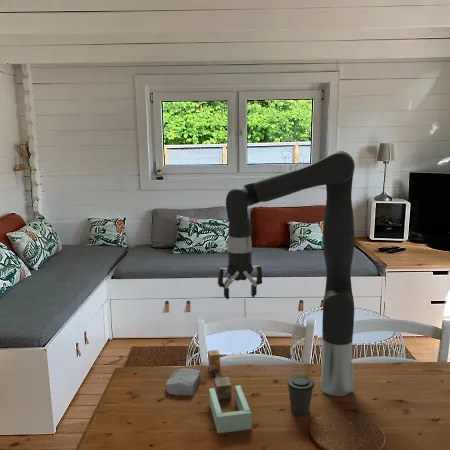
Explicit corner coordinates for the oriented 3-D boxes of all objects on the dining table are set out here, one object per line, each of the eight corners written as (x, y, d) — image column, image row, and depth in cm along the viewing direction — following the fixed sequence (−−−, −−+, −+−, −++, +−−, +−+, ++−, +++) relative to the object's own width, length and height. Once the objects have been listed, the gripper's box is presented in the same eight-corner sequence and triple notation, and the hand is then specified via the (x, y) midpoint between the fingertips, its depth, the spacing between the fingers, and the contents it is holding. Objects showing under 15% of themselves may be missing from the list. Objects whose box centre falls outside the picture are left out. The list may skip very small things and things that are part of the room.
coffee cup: (315, 405, 144) (316, 375, 142) (311, 420, 136) (312, 389, 134) (289, 400, 146) (289, 370, 144) (283, 415, 139) (284, 384, 137)
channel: (240, 400, 147) (240, 385, 146) (251, 429, 133) (251, 412, 132) (209, 403, 145) (209, 388, 144) (217, 433, 131) (217, 417, 130)
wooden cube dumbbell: (219, 365, 169) (219, 349, 167) (231, 398, 148) (231, 380, 147) (207, 366, 168) (206, 351, 167) (217, 399, 147) (216, 382, 146)
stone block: (165, 399, 151) (194, 396, 149) (161, 385, 151) (191, 382, 149) (175, 381, 163) (203, 378, 161) (172, 368, 162) (200, 365, 160)
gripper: (258, 245, 157) (258, 292, 160) (215, 247, 155) (216, 295, 158) (264, 250, 150) (264, 299, 153) (219, 253, 147) (220, 303, 151)
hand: (240, 297), depth 156 cm, fingers open, 8 cm apart
